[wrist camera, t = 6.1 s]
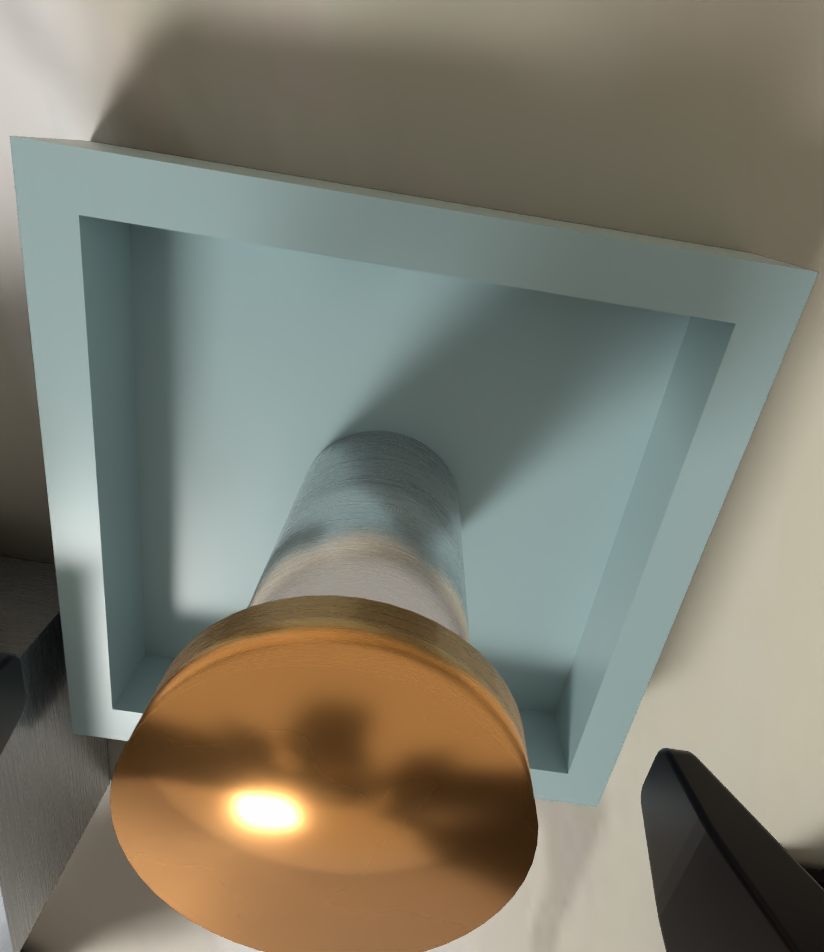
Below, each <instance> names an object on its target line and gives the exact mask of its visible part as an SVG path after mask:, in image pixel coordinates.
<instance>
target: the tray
mask: <svg viewBox="0 0 824 952" xmlns="http://www.w3.org/2000/svg"><path fill="white" fill-rule="evenodd" d="M10 144H11V154H12V163H13V172H14V182H15V191H16V201H17V210H18V220H19V229H20V238H21V248H22V257H23V267H24V276H25V286H26V295H27V304H28V314H29V323H30V333H31V342H32V352H33V361H34V370H35V380H36V389H37V399H38V408H39V418H40V427H41V436H42V446H43V455H44V465H45V474H46V484H47V493H48V503H49V512H50V521H51V531H52V540H53V550H54V559H55V569H56V578H57V587H58V597H59V606H60V616H61V625H62V635H63V644H64V653H65V663H66V672H67V682H68V691H69V701H70V710H71V719H72V729H73V734H80V735H87V736H95V737H102V738H109V739H116V740H123V741H128V740H129V738H130V736H131V735H132V733H133V731H134V729H135V727H136V725H137V724H138V722H139V720H140V718H141V716H142V715H143V713H144V711H145V709H146V707H147V705H148V704H149V702H150V700H151V698H152V696H153V695H154V693H155V691H156V689H157V687H158V685H159V684H160V682H161V680H162V678H163V676H164V675H165V673H166V671H167V669H168V668H169V666H170V665H171V664H172V662H173V661H174V659H175V658H176V656H177V655H178V654H179V653H180V652H181V651H182V650H183V649H184V648H185V647H186V645H187V644H188V643H189V642H190V641H191V640H192V639H193V638H195V637H196V636H197V635H199V634H200V633H201V632H203V631H204V630H205V629H207V628H208V627H210V626H211V625H213V624H214V623H216V622H218V621H220V620H222V619H224V618H225V617H227V616H229V615H231V614H233V613H236V612H238V611H241V610H244V609H246V608H247V607H248V605H249V603H250V601H251V598H252V596H253V594H254V592H255V589H256V587H257V585H258V582H259V580H260V578H261V576H262V573H263V571H264V569H265V567H266V564H267V562H268V560H269V558H270V555H271V553H272V551H273V549H274V546H275V544H276V542H277V539H278V537H279V535H280V533H281V530H282V528H283V526H284V524H285V521H286V519H287V517H288V515H289V512H290V510H291V508H292V505H293V503H294V501H295V499H296V496H297V494H298V492H299V490H300V487H301V485H302V483H303V481H304V478H305V476H306V474H307V472H308V470H309V468H310V466H311V465H312V463H313V462H314V460H315V459H316V458H317V457H318V456H319V454H320V453H321V452H322V451H323V450H325V449H326V448H327V447H328V446H330V445H331V444H333V443H334V442H336V441H338V440H339V439H342V438H344V437H346V436H349V435H352V434H356V433H359V432H366V431H389V432H395V433H399V434H403V435H406V436H409V437H412V438H414V439H416V440H418V441H420V442H422V443H423V444H425V445H426V446H428V447H429V448H431V449H432V450H433V451H434V452H435V453H436V454H437V455H438V456H439V457H440V458H441V459H442V460H443V461H444V462H445V464H446V465H447V467H448V468H449V470H450V471H451V473H452V476H453V478H454V480H455V483H456V486H457V489H458V495H459V506H460V519H461V532H462V546H463V559H464V572H465V586H466V599H467V613H468V626H469V639H470V645H472V646H473V647H474V648H475V649H477V650H478V651H479V652H480V653H481V654H482V655H483V656H484V657H485V658H486V659H487V660H488V661H489V662H490V663H491V664H492V665H493V666H494V668H495V669H496V670H497V672H498V673H499V675H500V676H501V677H502V679H503V680H504V681H505V683H506V684H507V686H508V688H509V690H510V692H511V694H512V696H513V698H514V700H515V702H516V704H517V707H518V710H519V714H520V717H521V720H522V724H523V731H524V737H525V743H526V749H527V756H528V762H529V768H530V774H531V780H532V787H533V793H534V798H536V799H543V800H550V801H557V802H564V803H571V804H578V805H585V806H593V807H597V806H598V804H599V801H600V799H601V796H602V794H603V792H604V789H605V787H606V784H607V782H608V780H609V777H610V775H611V772H612V770H613V768H614V765H615V763H616V760H617V758H618V755H619V753H620V751H621V748H622V746H623V743H624V741H625V739H626V736H627V734H628V731H629V729H630V727H631V724H632V722H633V719H634V717H635V714H636V712H637V710H638V707H639V705H640V702H641V700H642V698H643V695H644V693H645V690H646V688H647V685H648V683H649V681H650V678H651V676H652V673H653V671H654V669H655V666H656V664H657V661H658V659H659V657H660V654H661V652H662V649H663V647H664V644H665V642H666V640H667V637H668V635H669V632H670V630H671V628H672V625H673V623H674V620H675V618H676V616H677V613H678V611H679V608H680V606H681V603H682V601H683V599H684V596H685V594H686V591H687V589H688V587H689V584H690V582H691V579H692V577H693V574H694V572H695V570H696V567H697V565H698V562H699V560H700V558H701V555H702V553H703V550H704V548H705V546H706V543H707V541H708V538H709V536H710V533H711V531H712V529H713V526H714V524H715V521H716V519H717V517H718V514H719V512H720V509H721V507H722V505H723V502H724V500H725V497H726V495H727V492H728V490H729V488H730V485H731V483H732V480H733V478H734V476H735V473H736V471H737V468H738V466H739V463H740V461H741V459H742V456H743V454H744V451H745V449H746V447H747V444H748V442H749V439H750V437H751V435H752V432H753V430H754V427H755V425H756V422H757V420H758V418H759V415H760V413H761V410H762V408H763V406H764V403H765V401H766V398H767V396H768V394H769V391H770V389H771V386H772V384H773V381H774V379H775V377H776V374H777V372H778V369H779V367H780V365H781V362H782V360H783V357H784V355H785V352H786V350H787V348H788V345H789V343H790V340H791V338H792V336H793V333H794V331H795V328H796V326H797V324H798V321H799V319H800V316H801V314H802V311H803V309H804V307H805V304H806V302H807V299H808V297H809V295H810V292H811V290H812V287H813V285H814V283H815V280H816V278H817V275H818V273H819V272H816V271H812V270H809V269H805V268H802V267H798V266H795V265H791V264H788V263H784V262H781V261H777V260H774V259H770V258H767V257H763V256H760V255H756V254H753V253H748V252H742V251H736V250H730V249H724V248H718V247H712V246H707V245H701V244H695V243H689V242H683V241H677V240H671V239H665V238H659V237H653V236H647V235H641V234H636V233H630V232H624V231H618V230H612V229H606V228H600V227H594V226H588V225H582V224H576V223H570V222H565V221H559V220H553V219H547V218H541V217H535V216H529V215H523V214H517V213H511V212H505V211H499V210H494V209H488V208H482V207H476V206H470V205H464V204H458V203H452V202H446V201H440V200H434V199H428V198H423V197H417V196H411V195H405V194H399V193H393V192H387V191H381V190H375V189H369V188H363V187H357V186H352V185H346V184H340V183H334V182H328V181H322V180H316V179H310V178H304V177H298V176H292V175H286V174H281V173H275V172H269V171H263V170H257V169H251V168H245V167H239V166H233V165H227V164H221V163H215V162H210V161H204V160H198V159H192V158H186V157H180V156H174V155H168V154H162V153H156V152H150V151H144V150H139V149H133V148H127V147H121V146H115V145H109V144H103V143H97V142H91V141H81V140H65V139H49V138H34V137H18V136H10Z"/></svg>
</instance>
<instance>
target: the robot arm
mask: <svg viewBox="0 0 824 952" xmlns="http://www.w3.org/2000/svg"><path fill="white" fill-rule="evenodd" d="M25 705H26V691H25V684H24V677H23V670H22V663H21V659H20V658H19V656H18V655H17V654H14V653H10V652H3V651H0V756H1V754H2V752H3V751H4V749H5V747H6V745H7V743H8V741H9V739H10V737H11V735H12V733H13V732H14V730H15V728H16V726H17V724H18V722H19V720H20V718H21V716H22V714H23V711H24V709H25ZM641 806H642V813H643V820H644V827H645V833H646V840H647V847H648V853H649V860H650V867H651V874H652V880H653V887H654V894H655V901H656V906H657V912H658V918H659V922H660V927H661V931H662V936H663V940H664V944H665V948H666V952H824V871H819V870H812V869H805V868H803V867H802V866H801V865H800V864H799V863H798V862H797V861H796V860H795V859H794V858H793V857H792V856H791V855H790V854H789V853H788V852H787V851H786V850H785V849H784V848H783V846H782V845H781V844H780V843H779V842H778V841H777V840H776V839H775V838H774V837H773V836H772V835H771V834H770V833H769V832H768V831H767V830H766V829H765V828H764V827H763V826H762V825H761V824H760V823H759V821H758V820H757V819H756V818H755V817H754V816H753V815H752V814H751V813H750V812H749V811H748V810H747V809H746V808H745V807H744V806H743V805H742V804H741V803H740V802H739V801H738V800H737V799H736V798H735V797H734V795H733V794H732V793H731V792H730V791H729V790H728V789H727V788H726V787H725V786H724V785H723V784H722V783H721V782H720V781H719V780H718V779H717V778H716V777H715V776H714V775H713V774H712V773H711V772H710V771H709V769H708V768H707V767H706V766H705V765H704V764H703V763H702V762H701V761H700V760H699V759H698V758H697V757H696V756H695V755H694V754H692V753H691V752H688V751H683V750H676V749H669V748H663V749H661V750H660V751H659V752H658V753H657V755H656V757H655V759H654V762H653V764H652V766H651V768H650V770H649V773H648V775H647V777H646V779H645V782H644V784H643V787H642V791H641Z"/></svg>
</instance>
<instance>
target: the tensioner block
mask: <svg viewBox="0 0 824 952" xmlns="http://www.w3.org/2000/svg"><path fill="white" fill-rule="evenodd" d="M0 651H3V652H10V653H14V654H17V655H18V656H19V658H20V659H21V663H22V670H23V677H24V684H25V691H26V705H25V709H24V711H23V714H22V716H21V718H20V720H19V722H18V724H17V726H16V728H15V730H14V732H13V733H12V735H11V737H10V739H9V741H8V743H7V745H6V747H5V749H4V751H3V752H2V754H1V756H0V952H20V950H21V949H22V947H23V945H24V943H25V941H26V939H27V937H28V935H29V934H30V932H31V930H32V928H33V926H34V924H35V922H36V920H37V919H38V917H39V915H40V913H41V911H42V909H43V907H44V905H45V904H46V902H47V900H48V898H49V896H50V894H51V892H52V890H53V889H54V887H55V885H56V883H57V881H58V879H59V877H60V875H61V874H62V872H63V870H64V868H65V866H66V864H67V862H68V860H69V859H70V857H71V855H72V853H73V851H74V849H75V847H76V845H77V844H78V842H79V840H80V838H81V836H82V834H83V832H84V830H85V829H86V827H87V825H88V823H89V821H90V819H91V817H92V815H93V814H94V812H95V810H96V808H97V806H98V804H99V802H100V800H101V799H102V797H103V795H104V793H105V791H106V789H107V787H108V785H109V784H110V775H109V762H108V748H107V738H102V737H95V736H87V735H80V734H73V729H72V719H71V710H70V701H69V691H68V682H67V672H66V663H65V653H64V644H63V635H62V625H61V616H60V606H59V597H58V587H57V578H56V569H55V564H48V563H41V562H35V561H28V560H21V559H15V558H8V557H1V556H0Z"/></svg>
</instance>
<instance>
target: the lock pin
mask: <svg viewBox="0 0 824 952" xmlns="http://www.w3.org/2000/svg"><path fill="white" fill-rule="evenodd" d="M110 808H111V815H112V822H113V826H114V829H115V832H116V835H117V838H118V841H119V844H120V846H121V848H122V850H123V852H124V853H125V855H126V857H127V859H128V861H129V862H130V864H131V865H132V867H133V868H134V869H135V871H136V872H137V874H138V875H139V876H140V878H141V879H142V880H143V881H144V882H145V883H146V884H147V885H148V886H149V887H150V888H151V889H152V891H153V892H154V893H155V894H156V895H158V896H159V897H160V898H161V899H162V900H163V901H165V902H166V903H167V904H168V905H169V906H171V907H172V908H173V909H175V910H176V911H177V912H179V913H180V914H182V915H183V916H185V917H186V918H188V919H189V920H191V921H192V922H194V923H196V924H198V925H200V926H201V927H203V928H205V929H207V930H209V931H211V932H212V933H215V934H217V935H219V936H222V937H224V938H226V939H229V940H231V941H233V942H236V943H239V944H242V945H245V946H247V947H250V948H253V949H256V950H260V951H264V952H424V951H427V950H430V949H433V948H436V947H439V946H442V945H444V944H447V943H449V942H451V941H453V940H455V939H458V938H460V937H462V936H464V935H466V934H468V933H469V932H471V931H472V930H474V929H476V928H477V927H479V926H481V925H482V924H484V923H485V922H486V921H488V920H489V919H490V918H491V917H493V916H494V915H495V914H496V913H498V912H499V911H500V910H501V909H502V908H503V907H504V906H505V905H506V904H507V903H508V902H509V900H510V899H511V898H512V897H513V896H514V895H515V893H516V892H517V890H518V889H519V887H520V886H521V885H522V883H523V882H524V880H525V878H526V876H527V874H528V871H529V869H530V867H531V865H532V863H533V859H534V855H535V851H536V847H537V837H538V820H537V813H536V805H535V799H534V793H533V787H532V780H531V774H530V768H529V762H528V756H527V749H526V743H525V737H524V731H523V724H522V720H521V717H520V714H519V710H518V707H517V704H516V702H515V700H514V698H513V696H512V694H511V692H510V690H509V688H508V686H507V684H506V683H505V681H504V680H503V679H502V677H501V676H500V675H499V673H498V672H497V670H496V669H495V668H494V666H493V665H492V664H491V663H490V662H489V661H488V660H487V659H486V658H485V657H484V656H483V655H482V654H481V653H480V652H479V651H478V650H477V649H475V648H474V647H473V646H472V645H470V639H469V626H468V613H467V599H466V586H465V572H464V559H463V546H462V532H461V519H460V506H459V495H458V489H457V486H456V483H455V480H454V478H453V476H452V473H451V471H450V470H449V468H448V467H447V465H446V464H445V462H444V461H443V460H442V459H441V458H440V457H439V456H438V455H437V454H436V453H435V452H434V451H433V450H432V449H431V448H429V447H428V446H426V445H425V444H423V443H422V442H420V441H418V440H416V439H414V438H412V437H409V436H406V435H403V434H399V433H395V432H389V431H366V432H359V433H356V434H352V435H349V436H346V437H344V438H342V439H339V440H338V441H336V442H334V443H333V444H331V445H330V446H328V447H327V448H326V449H325V450H323V451H322V452H321V453H320V454H319V456H318V457H317V458H316V459H315V460H314V462H313V463H312V465H311V466H310V468H309V470H308V472H307V474H306V476H305V478H304V481H303V483H302V485H301V487H300V490H299V492H298V494H297V496H296V499H295V501H294V503H293V505H292V508H291V510H290V512H289V515H288V517H287V519H286V521H285V524H284V526H283V528H282V530H281V533H280V535H279V537H278V539H277V542H276V544H275V546H274V549H273V551H272V553H271V555H270V558H269V560H268V562H267V564H266V567H265V569H264V571H263V573H262V576H261V578H260V580H259V582H258V585H257V587H256V589H255V592H254V594H253V596H252V598H251V601H250V603H249V605H248V607H247V608H246V609H244V610H241V611H238V612H236V613H233V614H231V615H229V616H227V617H225V618H224V619H222V620H220V621H218V622H216V623H214V624H213V625H211V626H210V627H208V628H207V629H205V630H204V631H203V632H201V633H200V634H199V635H197V636H196V637H195V638H193V639H192V640H191V641H190V642H189V643H188V644H187V645H186V647H185V648H184V649H183V650H182V651H181V652H180V653H179V654H178V655H177V656H176V658H175V659H174V661H173V662H172V664H171V665H170V666H169V668H168V669H167V671H166V673H165V675H164V676H163V678H162V680H161V682H160V684H159V685H158V687H157V689H156V691H155V693H154V695H153V696H152V698H151V700H150V702H149V704H148V705H147V707H146V709H145V711H144V713H143V715H142V716H141V718H140V720H139V722H138V724H137V725H136V727H135V729H134V731H133V733H132V735H131V736H130V738H129V740H128V742H127V744H126V745H125V747H124V749H123V752H122V754H121V756H120V758H119V760H118V762H117V765H116V767H115V771H114V775H113V779H112V783H111V795H110Z"/></svg>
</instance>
